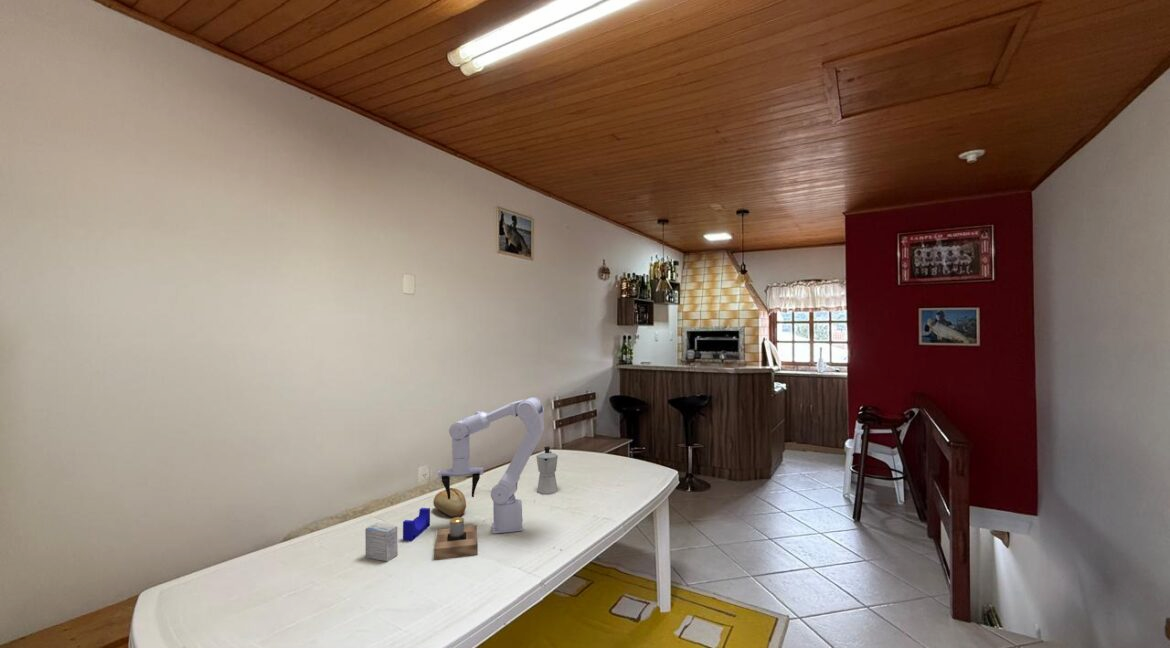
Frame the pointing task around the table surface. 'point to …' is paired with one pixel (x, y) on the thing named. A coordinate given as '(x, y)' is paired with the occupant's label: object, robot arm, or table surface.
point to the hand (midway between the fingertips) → (461, 497)
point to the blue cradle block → (416, 525)
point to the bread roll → (450, 502)
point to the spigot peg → (456, 529)
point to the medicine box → (381, 541)
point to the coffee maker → (547, 472)
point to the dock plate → (456, 544)
